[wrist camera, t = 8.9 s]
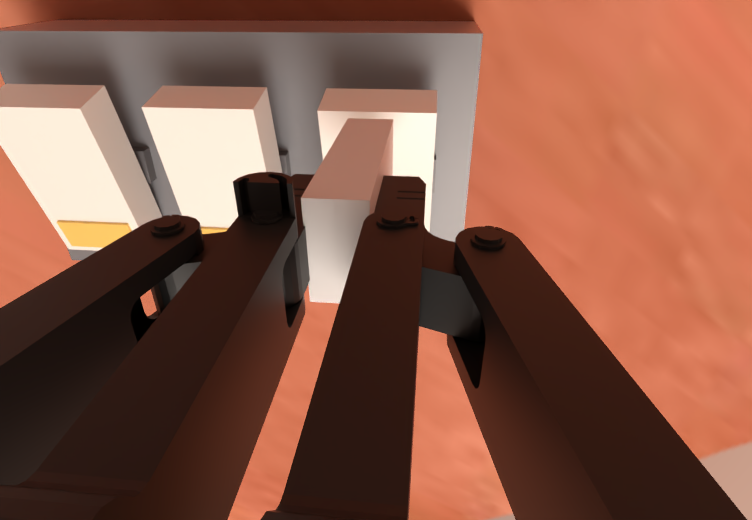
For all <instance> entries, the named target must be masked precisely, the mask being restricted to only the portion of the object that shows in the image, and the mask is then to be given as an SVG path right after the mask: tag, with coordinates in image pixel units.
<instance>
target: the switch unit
mask: <svg viewBox="0 0 752 520" xmlns="http://www.w3.org/2000/svg"><path fill="white" fill-rule="evenodd" d="M482 39H483V33H482V31H481V30H480V28H479V27H478V25H477V24H476V22H475V21H304V20H52V21H45V22H39V23H32V24H25V25H19V26H12V27H5V28H0V72H1V74H2V77H3V80H4V82H5V84H52V85H104V86H105V88H106V90H107V92H108V95H109V97H110V99H111V101H112V104H113V106H114V108H115V110H116V113H117V115H118V117H119V119H120V122H121V124H122V126H123V129H124V131H125V133H126V135H127V138H128V140H129V142H130V144H131V147H132V149H133V151H134V153H135V156H136V158H137V160H138V163H139V165H140V167H141V169H142V172H143V174H144V176H145V178H146V181H147V183H148V185H149V187H150V190H151V192H152V194H153V197H154V199H155V201H156V203H157V206H158V208H159V210H160V212H161V215H162V216H166V215H170V216H171V215H180V216H182V214H181V212H180V209H179V206H178V204H177V201H176V198H175V195H174V193H173V190H172V187H171V185H170V182H169V179H168V177H167V174H166V171H165V169H164V166H163V163H162V161H161V158H160V155H159V153H158V150H157V147H156V145H155V142H154V139H153V137H152V134H151V131H150V129H149V126H148V123H147V121H146V118H145V115H144V113H143V110H142V106H143V105H144V104H145V103H146V102H147V101H148V100H149V99H150V98H151V97H152V96H153V95H154V94H155V93H156V92H157V91H158V90H159V89H160V88H161V87H162V86H220V87H267V92H268V97H269V102H270V108H271V113H272V119H273V124H274V130H275V135H276V140H277V146H278V151H279V157H280V162H281V168H282V173H283V174H286V175H289V176H290V177H291V176H293V175H294V174H315V173H316V171H317V170H318V168H319V166H320V165H321V163H322V161H323V156H322V147H321V139H320V130H319V121H318V113H317V110H318V108H319V105H320V103H321V100H322V98H323V95H324V93H325V90H326V88H343V89H404V90H437V118H436V134H435V150H434V167H433V183H432V200H431V216H430V233H431V234H432V235H434V236H436V237H439V238H441V239H445V240H448V241H453V242H455V238H456V236H457V235H458V233H459V232H461V231H463V230H464V224H465V214H466V203H467V193H468V183H469V172H470V162H471V152H472V142H473V131H474V121H475V111H476V100H477V90H478V80H479V69H480V59H481V49H482ZM67 248H68V247H67ZM68 251H69V254H70V256H71V259H72V260H83V259H85V258H87V257H88V256H90V255H92V254H94V253H95V252H97V251H93V250H72V249H68Z"/></svg>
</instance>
